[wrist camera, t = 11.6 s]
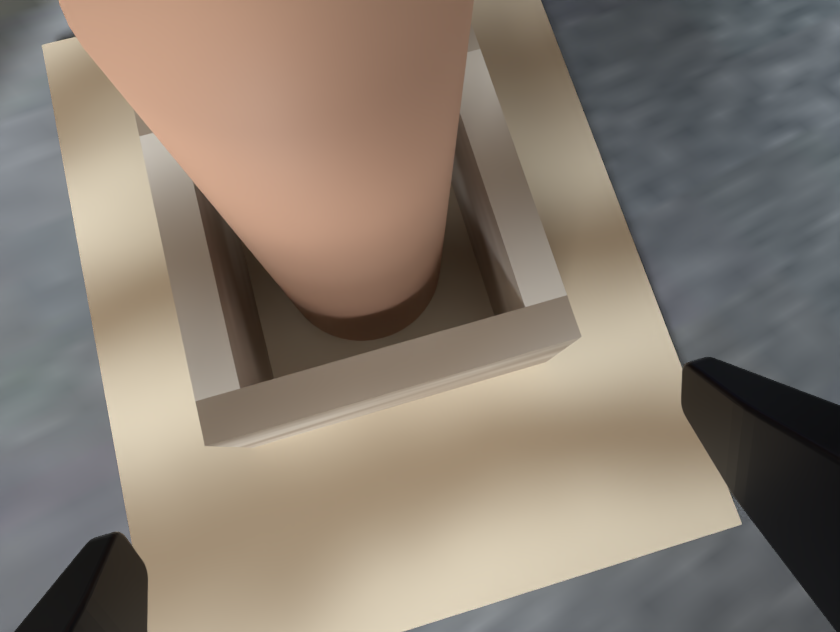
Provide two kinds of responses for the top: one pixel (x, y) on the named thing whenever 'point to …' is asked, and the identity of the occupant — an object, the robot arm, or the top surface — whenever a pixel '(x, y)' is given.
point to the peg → (305, 134)
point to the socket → (385, 376)
